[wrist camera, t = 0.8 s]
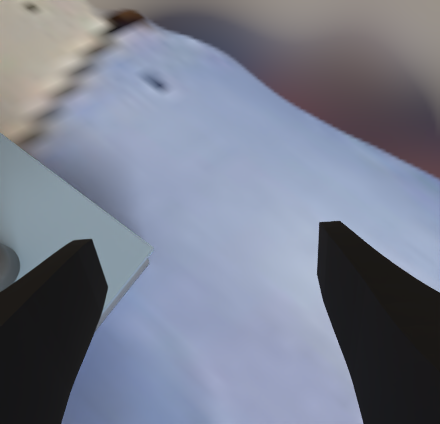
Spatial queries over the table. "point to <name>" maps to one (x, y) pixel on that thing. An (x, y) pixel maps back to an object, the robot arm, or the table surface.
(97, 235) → the lid
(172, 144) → the table surface
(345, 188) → the table surface
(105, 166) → the table surface
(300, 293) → the table surface
